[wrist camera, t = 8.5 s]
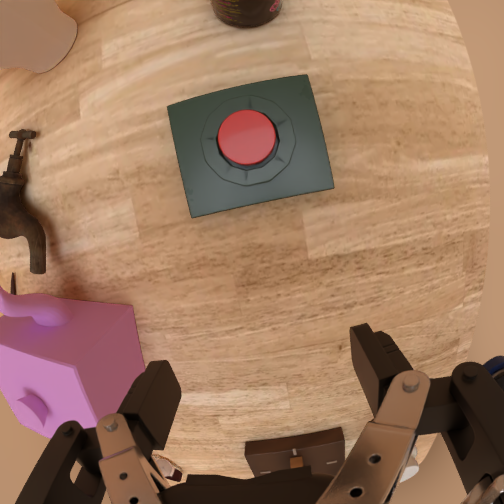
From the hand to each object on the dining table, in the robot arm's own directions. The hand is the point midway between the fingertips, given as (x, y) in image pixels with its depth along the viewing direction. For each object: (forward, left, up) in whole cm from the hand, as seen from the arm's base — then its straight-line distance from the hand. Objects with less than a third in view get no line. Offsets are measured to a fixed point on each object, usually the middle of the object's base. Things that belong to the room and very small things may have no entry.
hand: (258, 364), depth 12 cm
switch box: (-1, -10, -15) cm, 19 cm away
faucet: (+27, -14, -16) cm, 34 cm away
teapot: (+23, +6, -16) cm, 28 cm away
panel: (+1, +30, -15) cm, 33 cm away
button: (-1, -10, -12) cm, 16 cm away
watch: (+23, +31, -16) cm, 41 cm away
